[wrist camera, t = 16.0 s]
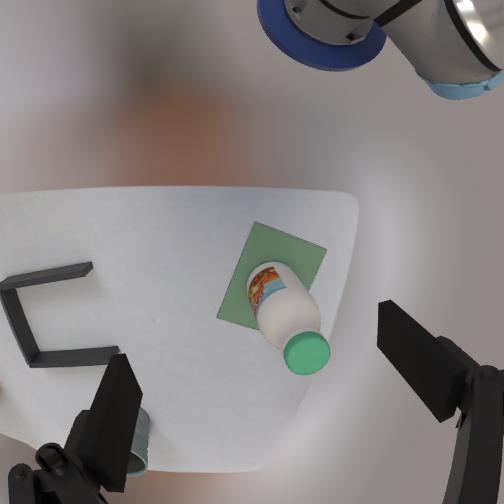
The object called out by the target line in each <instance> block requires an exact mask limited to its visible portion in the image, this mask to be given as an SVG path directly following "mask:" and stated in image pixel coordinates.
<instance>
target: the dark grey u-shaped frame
mask: <svg viewBox="0 0 504 504" xmlns="http://www.w3.org/2000/svg"><path fill="white" fill-rule="evenodd" d="M92 269H93V265H92V262H88V263H82V264H77V265H71V266H66V267H60V268H55V269H49V270H44V271H38V272H33V273H28V274H22V275H17V276H12V277H7V278H6V279H5V280H3V281H2V282H0V300H1V303H2V306H3V309H4V311H5V314H6V317H7V319H8V322H9V324H10V327H11V329H12V332H13V334H14V336H15V339H16V341H17V343H18V345H19V348H20V350H21V352H22V354H23V356H24V358H25V361H26V363H27V365H29V367H30V368H49V367H76V366H93V365H108V363H109V361H110V359H111V356H112V355H116V354H118V353H119V348H118V346H114V347H104V348H92V349H79V350H65V351H48V352H40V351H39V349H38V347H37V344H36V342H35V340H34V337H33V335H32V333H31V330H30V328H29V325H28V323H27V320H26V317H25V315H24V312H23V309H22V307H21V304H20V301H19V298H18V295H17V292H16V289H15V288H19V287H25V286H31V285H37V284H43V283H50V282H56V281H62V280H68V279H74V278H80V277H85V276H86V275H87V274H88V273H89V272H90V271H91V270H92Z"/></svg>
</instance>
